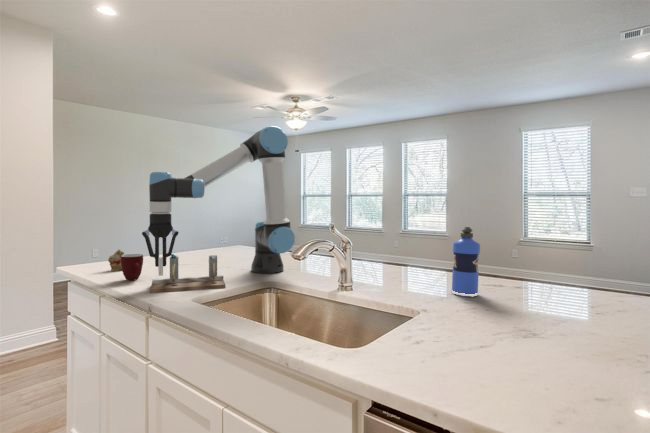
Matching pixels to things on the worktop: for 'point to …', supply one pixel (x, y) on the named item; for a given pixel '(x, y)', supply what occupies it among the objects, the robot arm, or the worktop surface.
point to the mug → (132, 266)
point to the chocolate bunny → (116, 260)
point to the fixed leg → (213, 266)
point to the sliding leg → (173, 267)
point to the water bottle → (465, 263)
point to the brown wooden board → (187, 284)
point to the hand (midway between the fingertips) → (160, 274)
